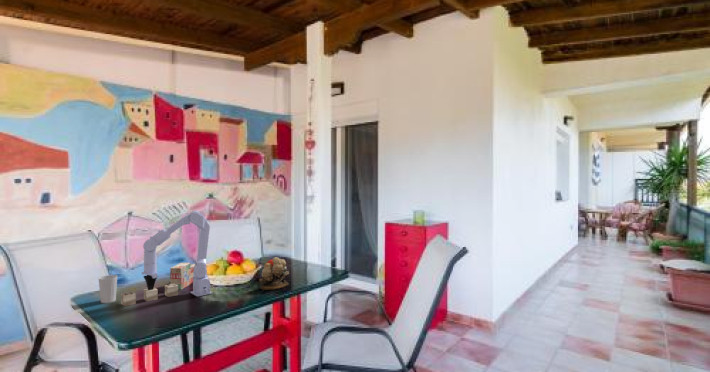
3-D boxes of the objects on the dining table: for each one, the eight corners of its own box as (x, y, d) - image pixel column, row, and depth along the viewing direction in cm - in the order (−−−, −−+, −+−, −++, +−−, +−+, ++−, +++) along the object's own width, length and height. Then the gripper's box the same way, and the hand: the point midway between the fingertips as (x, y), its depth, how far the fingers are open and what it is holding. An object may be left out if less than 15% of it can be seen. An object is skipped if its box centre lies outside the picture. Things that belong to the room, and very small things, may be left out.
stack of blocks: (188, 279, 226) (188, 259, 226) (198, 279, 226) (198, 259, 226) (170, 289, 205) (170, 267, 205) (181, 289, 205) (181, 267, 205)
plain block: (157, 299, 189) (157, 289, 189) (146, 301, 186) (146, 291, 185) (154, 297, 193) (154, 287, 192) (143, 299, 189) (143, 289, 189)
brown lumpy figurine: (282, 281, 221) (283, 253, 221) (294, 286, 213) (294, 256, 212) (255, 287, 209) (255, 257, 208) (266, 292, 200) (266, 261, 200)
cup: (121, 299, 189) (121, 275, 188) (106, 304, 181) (106, 279, 181) (110, 297, 191) (109, 274, 191) (94, 302, 184) (94, 278, 184)
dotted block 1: (135, 304, 182) (135, 293, 182) (124, 306, 178) (123, 296, 178) (132, 301, 186) (132, 291, 185) (121, 303, 182) (121, 293, 182)
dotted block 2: (178, 294, 196) (178, 285, 196) (168, 297, 193) (168, 287, 192) (174, 292, 200) (174, 283, 200) (164, 294, 196) (164, 285, 196)
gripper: (137, 261, 191) (137, 288, 191) (146, 266, 181) (146, 294, 181) (152, 259, 196) (152, 285, 196) (161, 264, 186) (161, 291, 186)
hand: (150, 289), depth 189 cm, fingers closed
